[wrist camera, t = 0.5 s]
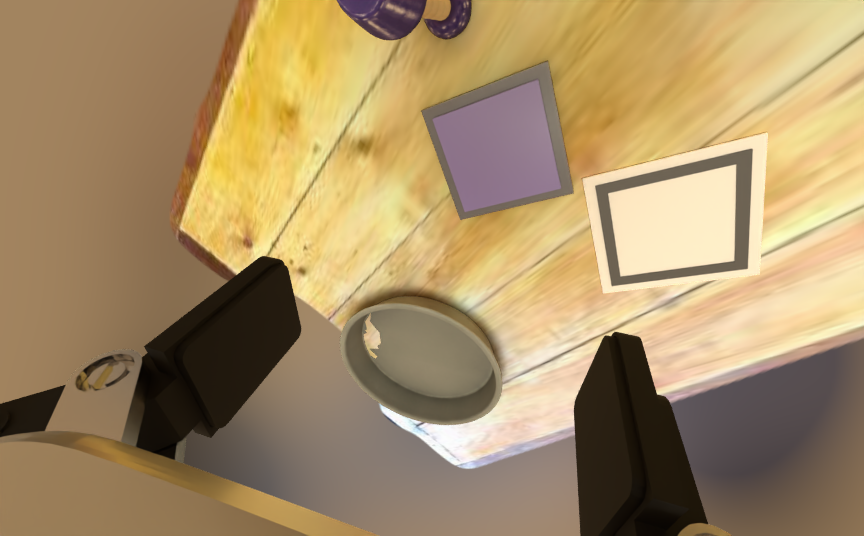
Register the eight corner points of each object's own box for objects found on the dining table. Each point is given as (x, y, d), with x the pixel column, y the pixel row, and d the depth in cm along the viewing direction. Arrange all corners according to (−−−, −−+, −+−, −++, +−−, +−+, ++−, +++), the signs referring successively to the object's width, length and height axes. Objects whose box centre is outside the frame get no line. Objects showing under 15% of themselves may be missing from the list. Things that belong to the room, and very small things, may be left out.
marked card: (766, 131, 29) (769, 133, 28) (758, 273, 35) (760, 275, 35) (582, 178, 35) (582, 179, 34) (602, 292, 41) (603, 294, 40)
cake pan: (464, 265, 44) (456, 286, 41) (529, 396, 54) (527, 422, 50) (323, 304, 56) (308, 323, 52) (398, 406, 65) (389, 428, 62)
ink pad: (547, 60, 30) (547, 61, 29) (573, 190, 36) (573, 195, 34) (423, 109, 35) (419, 112, 34) (461, 216, 41) (459, 222, 39)
